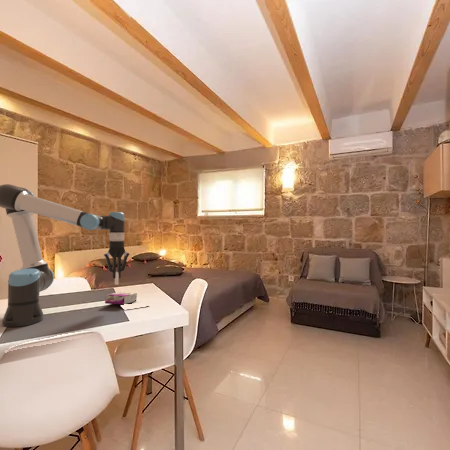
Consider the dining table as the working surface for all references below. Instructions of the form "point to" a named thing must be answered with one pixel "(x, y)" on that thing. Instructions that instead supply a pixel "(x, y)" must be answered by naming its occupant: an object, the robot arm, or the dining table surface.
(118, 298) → the candy bar box
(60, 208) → the robot arm
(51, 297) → the dining table surface
